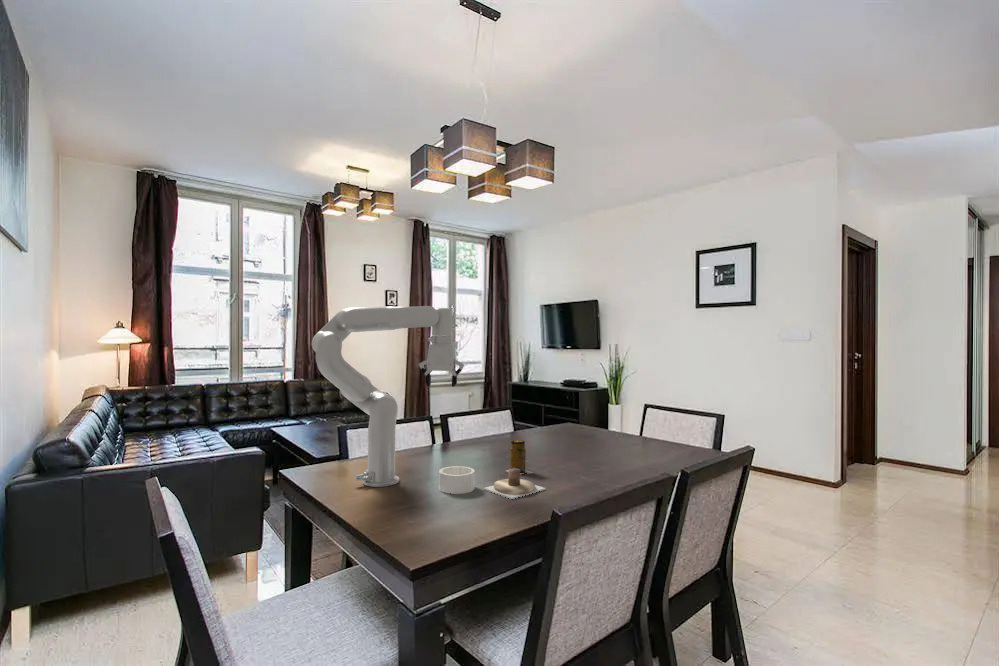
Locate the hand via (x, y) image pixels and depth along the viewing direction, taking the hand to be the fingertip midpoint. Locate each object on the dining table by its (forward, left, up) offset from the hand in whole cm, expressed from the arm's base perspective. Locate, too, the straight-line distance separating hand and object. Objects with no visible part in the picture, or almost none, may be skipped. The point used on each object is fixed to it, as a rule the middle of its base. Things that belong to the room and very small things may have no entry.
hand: (441, 385), depth 189 cm
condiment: (+25, -17, -34) cm, 45 cm away
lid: (+8, -32, -33) cm, 46 cm away
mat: (+8, -32, -33) cm, 47 cm away
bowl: (-6, -18, -33) cm, 38 cm away
